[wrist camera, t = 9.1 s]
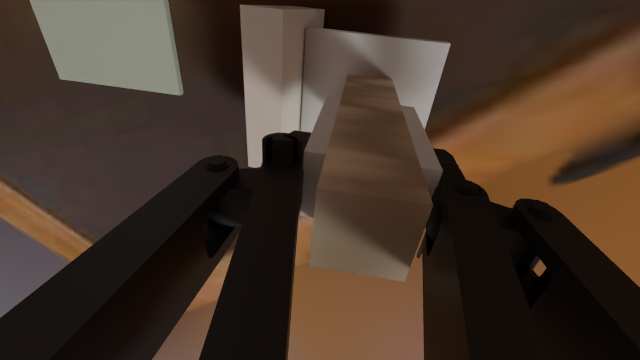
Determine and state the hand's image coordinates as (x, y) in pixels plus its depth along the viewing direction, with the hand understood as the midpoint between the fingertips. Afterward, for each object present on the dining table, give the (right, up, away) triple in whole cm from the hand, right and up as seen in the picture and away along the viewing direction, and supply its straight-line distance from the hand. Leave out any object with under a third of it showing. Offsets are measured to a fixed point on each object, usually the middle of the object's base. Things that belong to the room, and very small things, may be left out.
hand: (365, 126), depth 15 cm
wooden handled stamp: (+1, +3, +6) cm, 6 cm away
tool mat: (-21, +11, +9) cm, 25 cm away
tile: (-4, +6, +9) cm, 11 cm away
